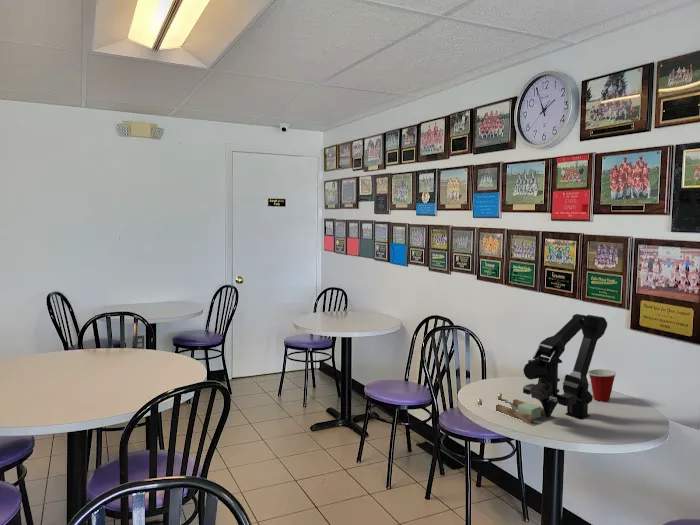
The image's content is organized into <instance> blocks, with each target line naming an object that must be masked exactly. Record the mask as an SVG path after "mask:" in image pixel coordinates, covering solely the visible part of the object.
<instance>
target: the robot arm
mask: <svg viewBox="0 0 700 525" xmlns="http://www.w3.org/2000/svg"><path fill="white" fill-rule="evenodd" d="M607 327H608V321H607V319H606V318H605V317H604V316H603V317H602V316H598V315H592V314H587V315H584V314H579V313H575V314H573V315H572V317H571V319H569V321H568V322H567V323H565V325H564V326H563V327H562V328H561V329H559V330H558V332H556V334H554V335H552V336H549V337H546V338H545V339H543V340H542V341H540V343H539V344H538V347H537V349H536V351H535V352H534V354H533V357H532V359H528V362H527V363H526V364H525V365H524V367H523V370H522V371H523V375H524V376H525V378H527V379H528V380H536V379H538V380H537V383H536V384H535V383H528V384H526V385H524V386H523V387H522V394H525V395H530V396H531V398H533V399H536V400H537V401H538V402H540V403H541V405H542V406H541V407H542V408H543V409H544V412H545V415H546V417H548V418H549V417H550V416H552V413H553V412H554V410H555V409H556V407H557V405H561V406H564V407H566V412H565V415H567V416H569V417H572V418H576V419H578V420H584V419H586V418H589V417H590V414H589V413H588V412H589V404H590V403H592V401H593V400H594V397H593V394H592V393H591V391H589V382H588V381H589V380H588V377H587V375H588V371H589V370H590V365H591V363H592V358H593V355H594V353H595V352H594V351H595V349H596V345H597V342H598V340H600V338H602V336H604V335H605V332H606V330H607ZM580 331H581V333H582V340H581V344H580V346H579V350H578V352H577V353H578V354H577V356H576V360H575V364H574V366H573V369H572V372H571V373H570V374H565V376H564V379H563V382H562V390H563V393H562V394H559V393H560V389H559V388H558V383H559V382H560V380H561V379H560V378H559V364H562V363H563V361H562V359H561V356H562V354H564V352H565V349H566V345H567V344H568V343H569V342H570V341H571V340H572V339H573V338H574V337H575V336H576V335H577V334H578V333H580Z"/></svg>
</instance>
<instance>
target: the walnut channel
mask: <svg viewBox="0 0 700 525" xmlns="http://www.w3.org/2000/svg"><path fill="white" fill-rule="evenodd" d="M512 403H513V406H515V407H518V405H520V404H524V403H527V402H525V401H522V400H519V399H513V400H512ZM496 411H499V412H501V413H504V414H506V415H509V416H511V417H514V418H517V419H520V420H522V421H525V422H528V423H530V424H531V423H533V416H531V415H528V414H525V413H522V412H519V411H516V410H514V409H511V408H508V407H505V406H502V405H499V404H498V405H496ZM541 415H542V416H545V417H546V415H545V412H544V409H543V407H541Z"/></svg>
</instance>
